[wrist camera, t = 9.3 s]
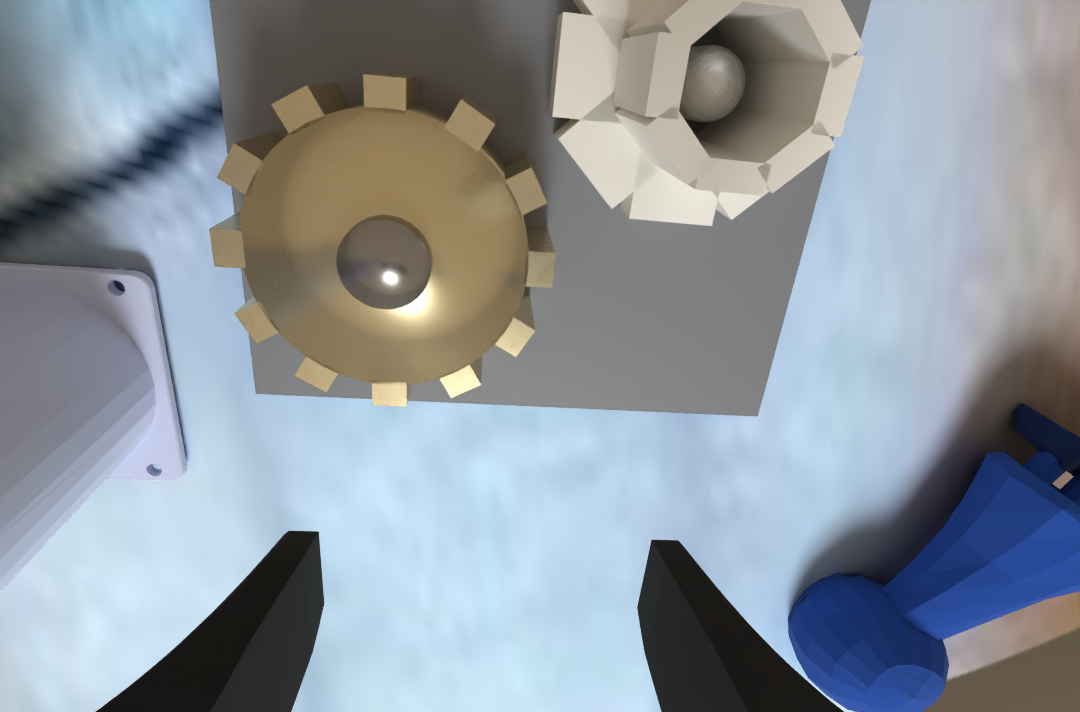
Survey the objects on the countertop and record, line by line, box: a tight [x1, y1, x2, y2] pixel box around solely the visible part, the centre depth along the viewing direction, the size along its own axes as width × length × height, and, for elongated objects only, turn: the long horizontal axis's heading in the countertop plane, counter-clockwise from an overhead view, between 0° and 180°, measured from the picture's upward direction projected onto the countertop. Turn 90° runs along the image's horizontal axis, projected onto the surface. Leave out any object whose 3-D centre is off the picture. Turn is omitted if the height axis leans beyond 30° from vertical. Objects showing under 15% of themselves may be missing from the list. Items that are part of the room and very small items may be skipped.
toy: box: [788, 403, 1080, 712], centre depth 25 cm, size 7×6×15 cm
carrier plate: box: [210, 0, 871, 416], centre depth 18 cm, size 18×22×1 cm
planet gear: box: [548, 0, 864, 226], centre depth 16 cm, size 8×8×6 cm
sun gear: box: [209, 73, 556, 406], centre depth 18 cm, size 9×9×4 cm
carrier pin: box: [679, 45, 745, 122], centre depth 16 cm, size 2×2×3 cm
